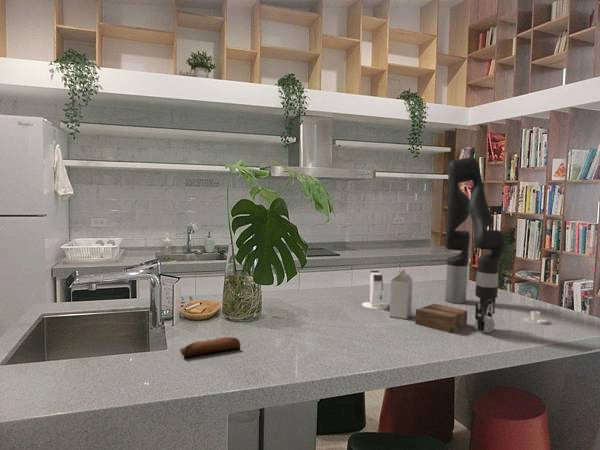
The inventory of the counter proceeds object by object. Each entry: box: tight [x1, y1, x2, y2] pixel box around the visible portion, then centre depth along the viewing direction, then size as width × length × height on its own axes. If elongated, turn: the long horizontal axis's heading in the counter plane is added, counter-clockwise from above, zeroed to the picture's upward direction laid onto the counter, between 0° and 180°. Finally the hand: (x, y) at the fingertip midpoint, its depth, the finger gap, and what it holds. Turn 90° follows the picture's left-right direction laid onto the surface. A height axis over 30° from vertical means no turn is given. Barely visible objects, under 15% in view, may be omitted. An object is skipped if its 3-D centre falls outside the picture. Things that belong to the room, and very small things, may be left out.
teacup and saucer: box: [524, 310, 548, 325], centre depth 180 cm, size 9×8×4 cm
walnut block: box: [414, 303, 468, 334], centre depth 173 cm, size 14×14×6 cm
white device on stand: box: [361, 270, 389, 310], centre depth 198 cm, size 12×11×15 cm
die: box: [474, 315, 496, 334], centre depth 166 cm, size 5×5×5 cm
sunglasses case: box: [179, 336, 241, 359], centre depth 140 cm, size 18×7×7 cm
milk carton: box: [389, 268, 413, 320], centre depth 183 cm, size 7×7×19 cm
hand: (484, 328), depth 166 cm, fingers closed on die, 7 cm apart
